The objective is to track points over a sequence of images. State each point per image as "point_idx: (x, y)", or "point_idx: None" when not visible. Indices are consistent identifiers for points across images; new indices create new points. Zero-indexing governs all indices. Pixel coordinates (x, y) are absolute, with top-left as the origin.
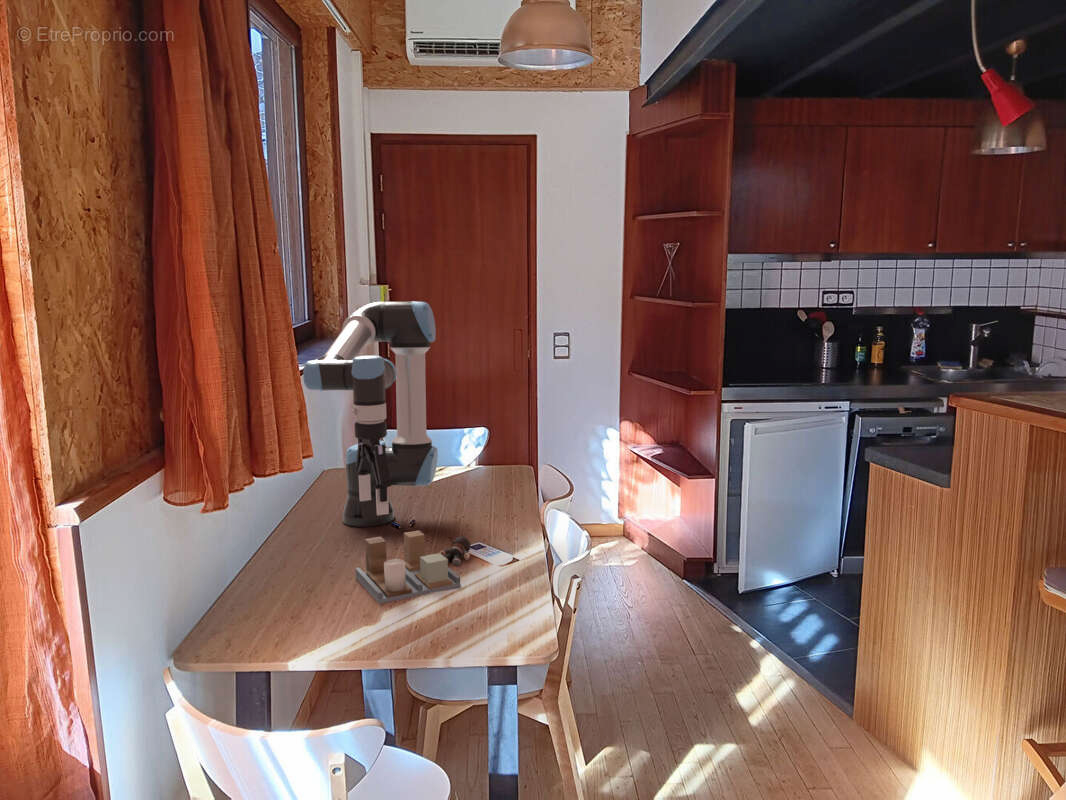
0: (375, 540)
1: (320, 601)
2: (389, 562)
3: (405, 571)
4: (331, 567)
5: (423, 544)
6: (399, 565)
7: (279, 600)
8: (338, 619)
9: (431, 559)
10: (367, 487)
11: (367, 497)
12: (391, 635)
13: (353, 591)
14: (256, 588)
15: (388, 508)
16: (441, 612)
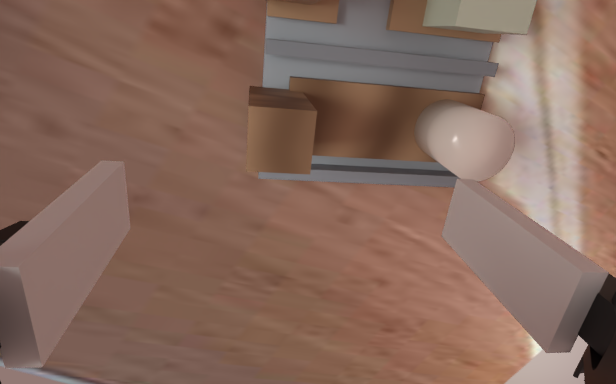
0: (283, 142)
1: (350, 274)
2: (468, 162)
3: (376, 59)
4: (138, 197)
5: None
6: (513, 146)
7: (293, 335)
8: (456, 267)
9: (508, 1)
10: (89, 226)
11: (118, 193)
12: (590, 209)
13: (342, 201)
14: (198, 361)
15: (490, 192)
16: (595, 71)
